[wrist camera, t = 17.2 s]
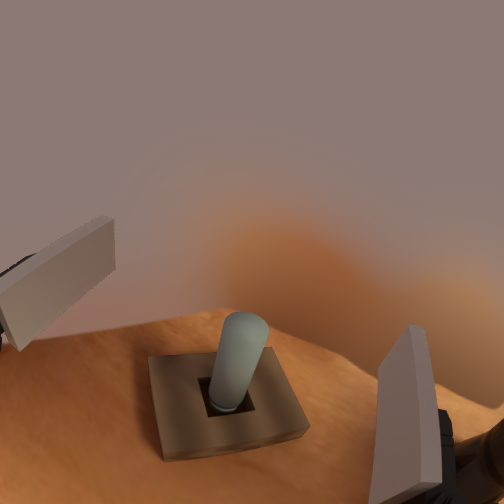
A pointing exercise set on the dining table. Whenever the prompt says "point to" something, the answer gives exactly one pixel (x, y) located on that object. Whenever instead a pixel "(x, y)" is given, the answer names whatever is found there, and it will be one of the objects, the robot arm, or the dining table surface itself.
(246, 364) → the grey rounded cylinder
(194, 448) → the board
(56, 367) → the dining table surface
